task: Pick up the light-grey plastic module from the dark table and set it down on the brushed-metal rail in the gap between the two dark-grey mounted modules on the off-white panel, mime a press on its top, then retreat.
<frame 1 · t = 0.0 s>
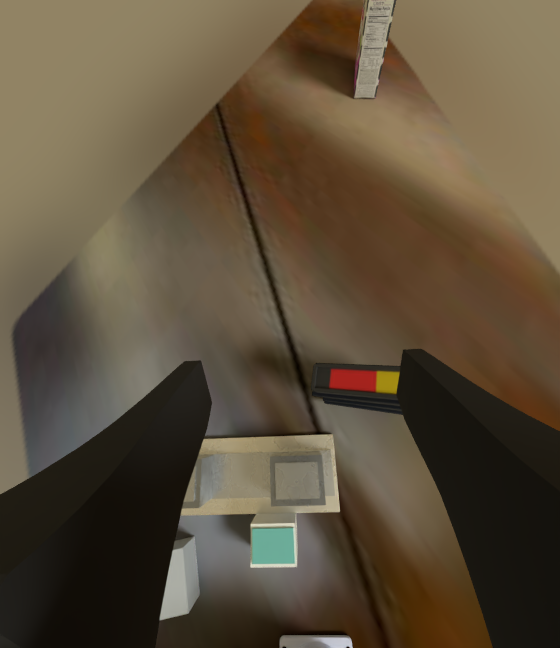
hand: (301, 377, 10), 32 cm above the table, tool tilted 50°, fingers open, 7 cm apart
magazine: (356, 395, 41), on the table
rail panel: (245, 473, 39), on the table
candy bar box: (363, 83, 64), on the table
module: (276, 529, 36), on the table
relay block: (174, 569, 36), on the table
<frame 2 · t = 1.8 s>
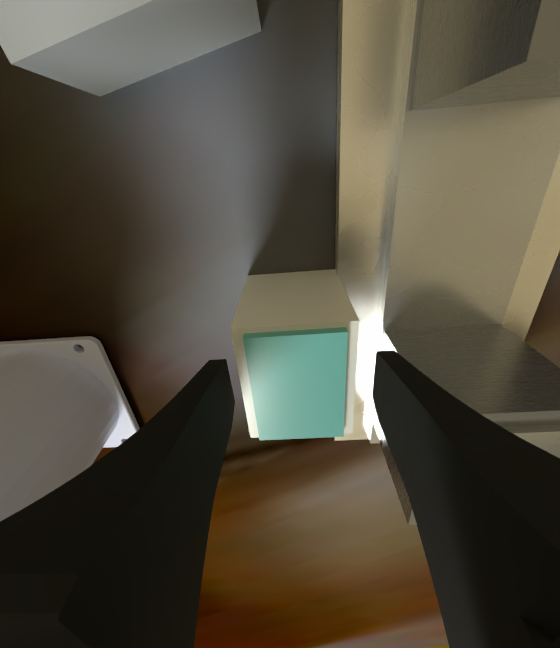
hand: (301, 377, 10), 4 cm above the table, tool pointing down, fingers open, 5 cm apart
rail panel: (442, 227, 12), on the table
module: (293, 319, 14), on the table
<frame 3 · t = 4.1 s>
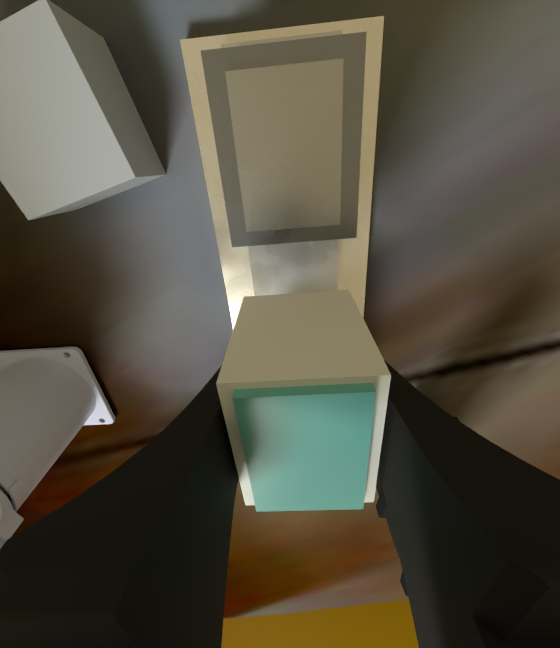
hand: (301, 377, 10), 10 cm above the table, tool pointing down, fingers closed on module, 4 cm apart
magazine: (406, 435, 27), on the table
rail panel: (294, 279, 19), on the table
module: (298, 347, 12), point 8 cm above the table, touching gripper
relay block: (91, 134, 16), on the table
when the fingers open (4 cm above the table, at t = 5.7 s): module stays where it is, resting on rail panel.
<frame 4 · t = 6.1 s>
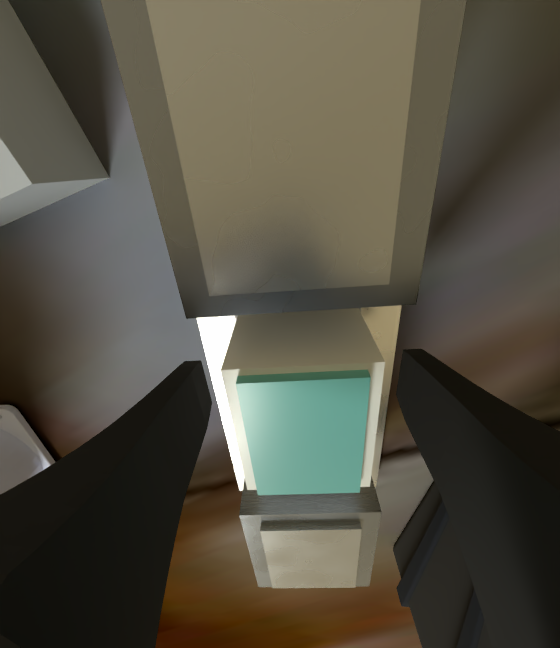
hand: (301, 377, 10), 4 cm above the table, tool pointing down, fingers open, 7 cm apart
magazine: (436, 503, 21), on the table
rail panel: (297, 324, 14), on the table
module: (298, 341, 13), point 1 cm above the table, touching rail panel
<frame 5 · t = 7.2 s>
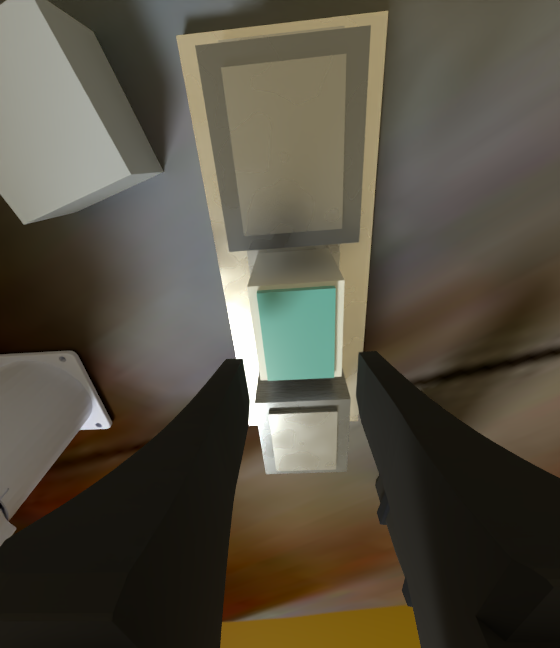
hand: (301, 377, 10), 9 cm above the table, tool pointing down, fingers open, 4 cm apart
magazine: (408, 440, 26), on the table
rail panel: (294, 283, 19), on the table
module: (295, 292, 17), point 1 cm above the table, touching rail panel
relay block: (85, 134, 15), on the table
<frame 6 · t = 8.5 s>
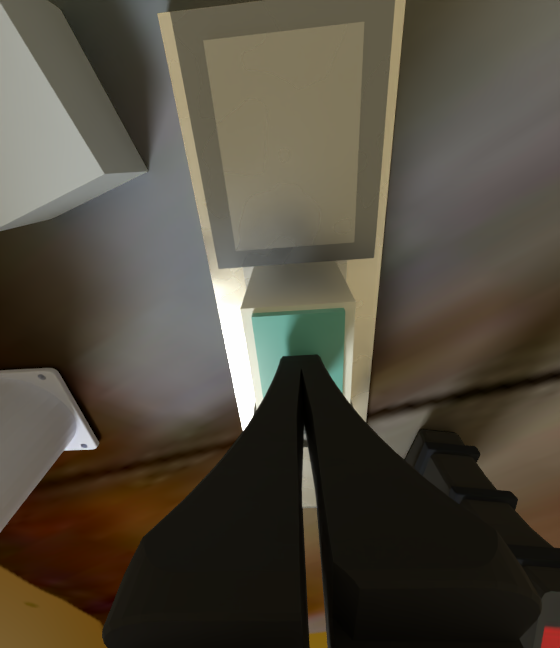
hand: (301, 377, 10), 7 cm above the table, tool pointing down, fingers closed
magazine: (418, 461, 24), on the table
rail panel: (296, 296, 17), on the table
module: (296, 307, 16), point 1 cm above the table, touching rail panel
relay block: (58, 129, 13), on the table
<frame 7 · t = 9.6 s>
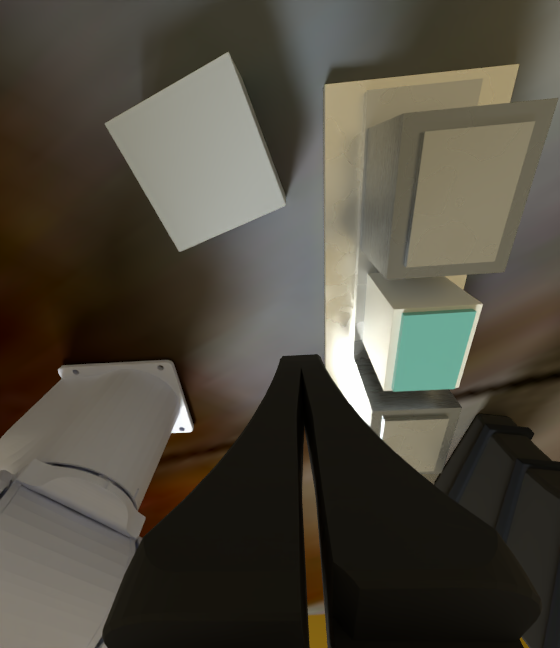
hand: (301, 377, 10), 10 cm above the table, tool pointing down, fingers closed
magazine: (471, 443, 28), on the table
rail panel: (388, 298, 20), on the table
module: (395, 307, 19), point 1 cm above the table, touching rail panel
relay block: (218, 166, 17), on the table
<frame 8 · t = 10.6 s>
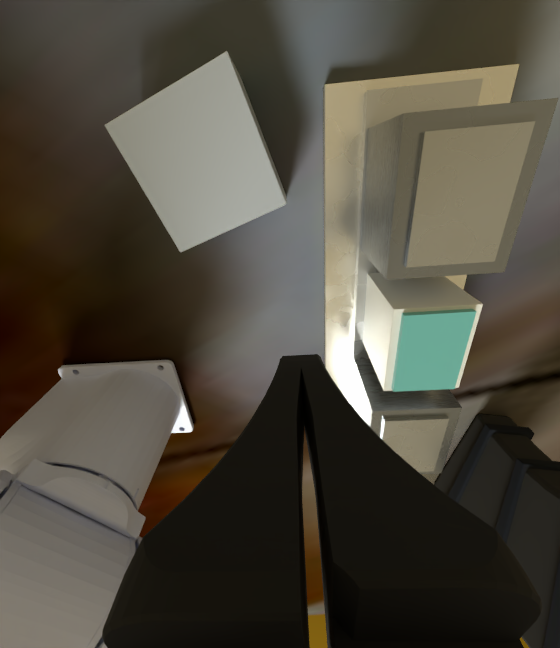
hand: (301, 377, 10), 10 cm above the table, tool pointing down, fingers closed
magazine: (471, 443, 28), on the table
rail panel: (388, 298, 20), on the table
module: (395, 307, 19), point 1 cm above the table, touching rail panel
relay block: (218, 166, 17), on the table
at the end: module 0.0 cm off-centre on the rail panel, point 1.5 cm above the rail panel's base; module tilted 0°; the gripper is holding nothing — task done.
